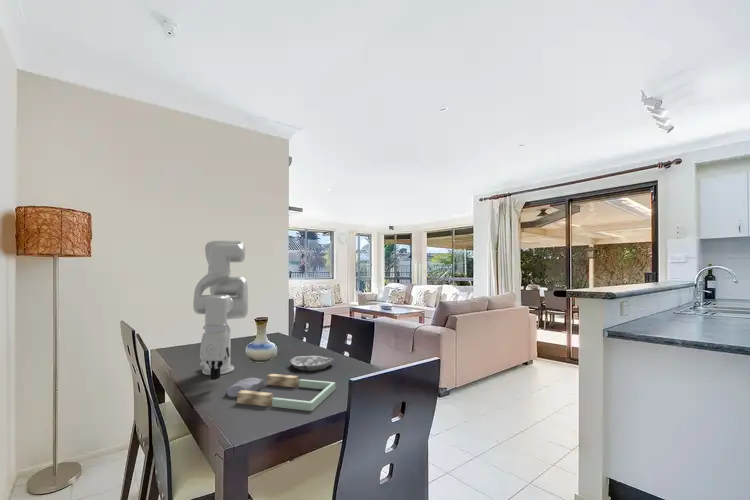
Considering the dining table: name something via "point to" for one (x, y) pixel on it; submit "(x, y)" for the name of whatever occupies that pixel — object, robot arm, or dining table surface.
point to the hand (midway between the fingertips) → (215, 378)
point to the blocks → (264, 397)
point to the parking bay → (306, 405)
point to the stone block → (245, 386)
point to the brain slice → (311, 362)
